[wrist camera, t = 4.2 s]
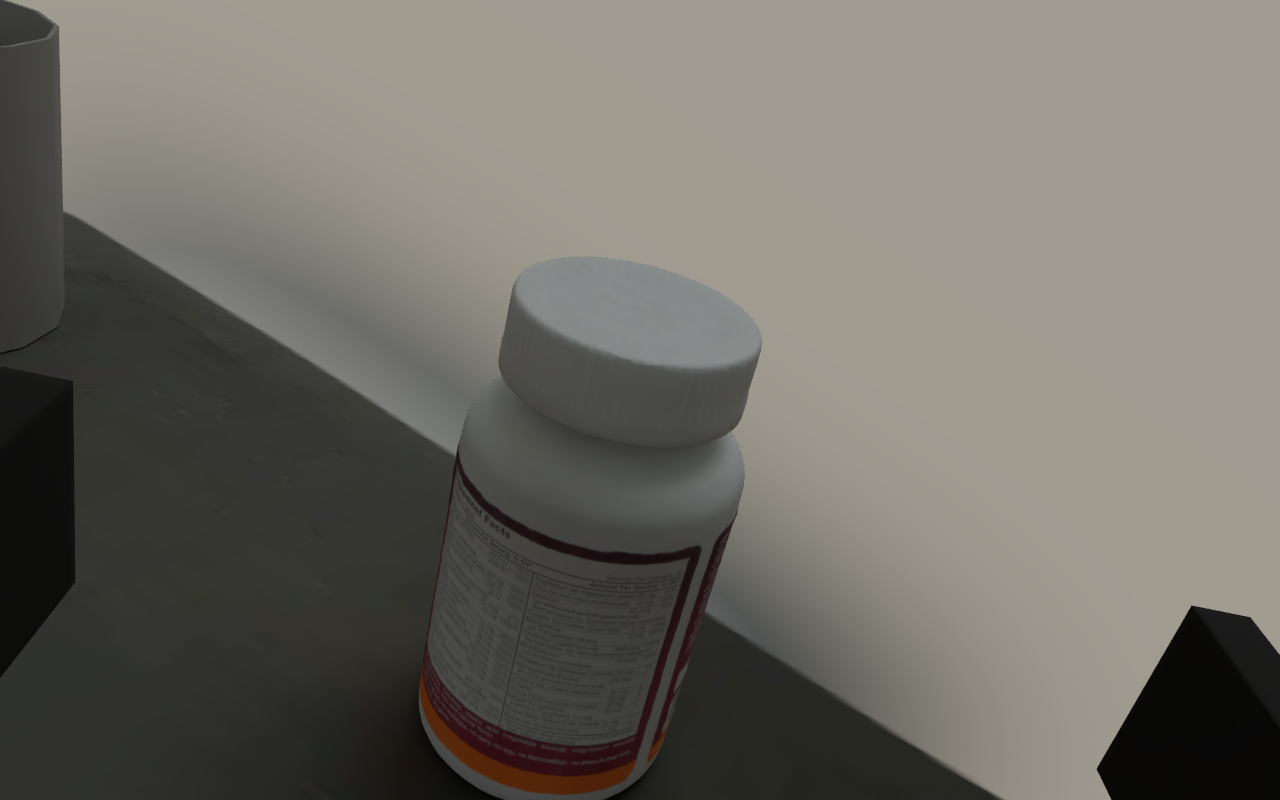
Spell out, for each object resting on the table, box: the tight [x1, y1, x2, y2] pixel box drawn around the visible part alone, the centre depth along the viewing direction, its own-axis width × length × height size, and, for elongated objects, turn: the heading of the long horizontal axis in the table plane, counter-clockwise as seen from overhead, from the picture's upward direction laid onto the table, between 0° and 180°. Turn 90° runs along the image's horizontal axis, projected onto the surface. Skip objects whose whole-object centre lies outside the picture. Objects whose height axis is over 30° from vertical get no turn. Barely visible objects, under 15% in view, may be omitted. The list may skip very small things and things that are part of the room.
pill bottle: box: [419, 257, 762, 800], centre depth 24 cm, size 6×6×11 cm
